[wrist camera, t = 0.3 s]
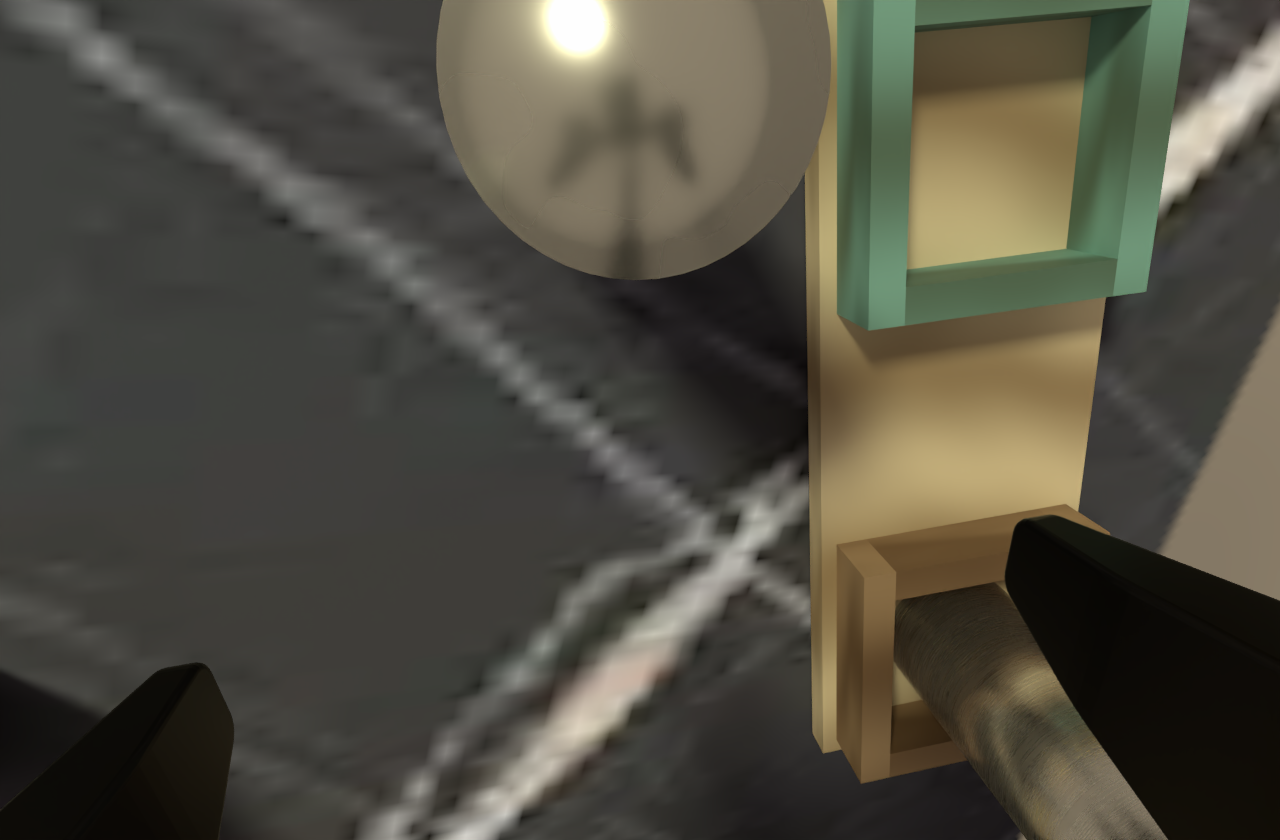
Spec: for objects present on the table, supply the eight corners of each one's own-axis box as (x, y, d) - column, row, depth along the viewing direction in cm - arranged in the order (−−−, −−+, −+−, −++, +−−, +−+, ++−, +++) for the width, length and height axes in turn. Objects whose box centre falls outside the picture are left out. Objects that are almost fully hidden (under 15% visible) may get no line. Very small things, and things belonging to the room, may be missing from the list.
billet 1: (651, 190, 21) (832, 256, 10) (487, 209, 20) (474, 302, 9) (636, 7, 19) (830, -171, 8) (457, 21, 18) (396, -149, 7)
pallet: (1035, 686, 29) (1091, 743, 27) (812, 732, 28) (846, 797, 26) (1130, -111, 20) (1230, -151, 17) (801, -90, 19) (853, -128, 16)
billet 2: (1000, 665, 27) (1342, 1025, 16) (885, 689, 27) (1156, 1078, 16) (1011, 559, 26) (1396, 879, 15) (888, 582, 25) (1193, 933, 14)
